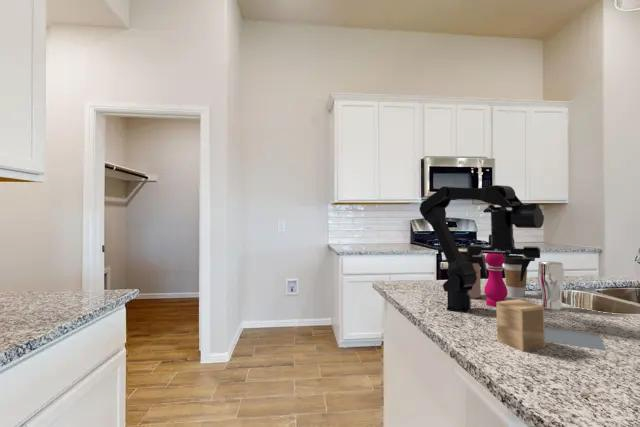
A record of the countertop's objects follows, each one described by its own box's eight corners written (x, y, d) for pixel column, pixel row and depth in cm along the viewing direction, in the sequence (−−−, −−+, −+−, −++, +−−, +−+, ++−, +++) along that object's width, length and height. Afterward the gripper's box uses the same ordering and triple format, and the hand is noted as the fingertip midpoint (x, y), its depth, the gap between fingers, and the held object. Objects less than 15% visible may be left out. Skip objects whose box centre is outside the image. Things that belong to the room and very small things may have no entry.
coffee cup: (525, 293, 131) (524, 255, 132) (531, 298, 123) (530, 257, 124) (501, 292, 134) (500, 254, 134) (506, 297, 126) (505, 257, 126)
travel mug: (474, 293, 133) (473, 248, 133) (484, 298, 125) (483, 250, 125) (454, 294, 133) (453, 248, 133) (463, 299, 125) (462, 250, 125)
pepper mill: (480, 302, 120) (479, 246, 120) (499, 301, 121) (498, 245, 121) (492, 307, 113) (490, 248, 113) (512, 306, 113) (511, 247, 113)
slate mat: (537, 341, 83) (537, 339, 83) (538, 327, 93) (538, 325, 93) (606, 352, 76) (606, 350, 76) (598, 335, 86) (598, 334, 86)
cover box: (497, 342, 83) (496, 301, 83) (518, 338, 85) (517, 299, 85) (522, 353, 76) (521, 309, 76) (545, 348, 79) (543, 306, 79)
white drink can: (569, 311, 107) (567, 264, 107) (544, 310, 108) (543, 264, 108) (558, 305, 114) (557, 261, 114) (535, 304, 115) (534, 261, 115)
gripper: (539, 226, 101) (541, 278, 101) (472, 226, 111) (473, 273, 111) (539, 228, 92) (540, 285, 92) (466, 228, 102) (467, 279, 102)
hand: (503, 280), depth 99 cm, fingers open, 9 cm apart
